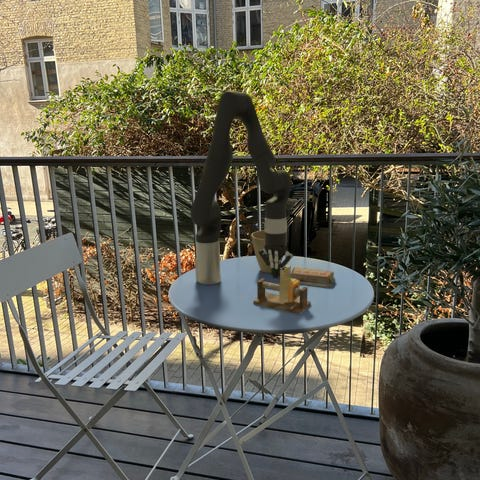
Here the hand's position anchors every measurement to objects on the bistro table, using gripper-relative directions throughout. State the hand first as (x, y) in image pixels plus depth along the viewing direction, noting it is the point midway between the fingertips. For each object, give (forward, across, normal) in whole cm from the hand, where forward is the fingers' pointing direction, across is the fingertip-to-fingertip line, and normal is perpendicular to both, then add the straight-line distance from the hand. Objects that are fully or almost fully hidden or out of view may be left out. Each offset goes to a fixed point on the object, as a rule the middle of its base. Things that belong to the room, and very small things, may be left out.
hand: (275, 277), depth 159 cm
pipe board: (+10, -2, 0) cm, 10 cm away
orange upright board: (+7, -7, 0) cm, 10 cm away
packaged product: (+10, -2, -26) cm, 28 cm away
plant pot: (+10, +19, -29) cm, 36 cm away
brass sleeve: (+7, -5, 0) cm, 8 cm away
